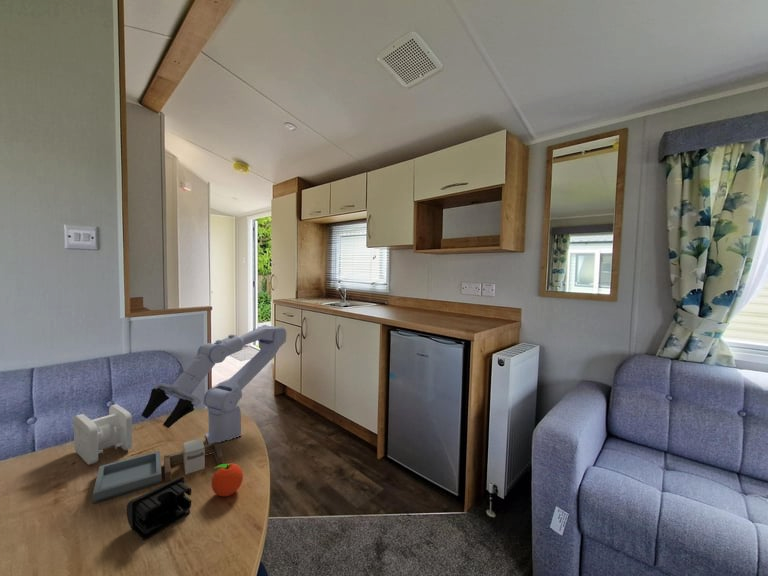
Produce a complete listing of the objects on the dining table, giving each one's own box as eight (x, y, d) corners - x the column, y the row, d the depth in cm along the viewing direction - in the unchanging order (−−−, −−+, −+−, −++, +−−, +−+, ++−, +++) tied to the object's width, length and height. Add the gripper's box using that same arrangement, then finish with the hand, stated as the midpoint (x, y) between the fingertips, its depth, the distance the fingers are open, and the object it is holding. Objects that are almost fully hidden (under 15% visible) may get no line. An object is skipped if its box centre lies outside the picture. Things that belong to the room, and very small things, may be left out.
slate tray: (160, 458, 91) (159, 450, 91) (161, 482, 81) (161, 473, 80) (99, 475, 83) (99, 466, 83) (92, 504, 73) (92, 493, 73)
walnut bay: (217, 449, 96) (217, 441, 96) (223, 464, 89) (223, 455, 89) (164, 464, 88) (163, 456, 88) (165, 482, 81) (165, 473, 81)
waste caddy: (201, 458, 92) (201, 438, 91) (205, 470, 86) (205, 448, 86) (183, 463, 89) (183, 442, 89) (185, 476, 83) (185, 454, 83)
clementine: (200, 500, 75) (200, 471, 74) (220, 481, 81) (220, 454, 81) (230, 505, 73) (230, 475, 73) (248, 485, 80) (248, 458, 80)
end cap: (177, 499, 75) (177, 472, 75) (193, 512, 71) (193, 482, 71) (126, 528, 66) (125, 496, 66) (141, 543, 63) (140, 510, 62)
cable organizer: (134, 452, 94) (134, 414, 94) (87, 470, 85) (86, 428, 85) (116, 437, 102) (115, 402, 102) (71, 452, 93) (70, 413, 93)
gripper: (165, 363, 93) (125, 406, 84) (205, 379, 89) (168, 425, 81) (177, 375, 98) (140, 416, 89) (215, 390, 95) (181, 435, 86)
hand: (154, 421), depth 85 cm, fingers open, 7 cm apart
